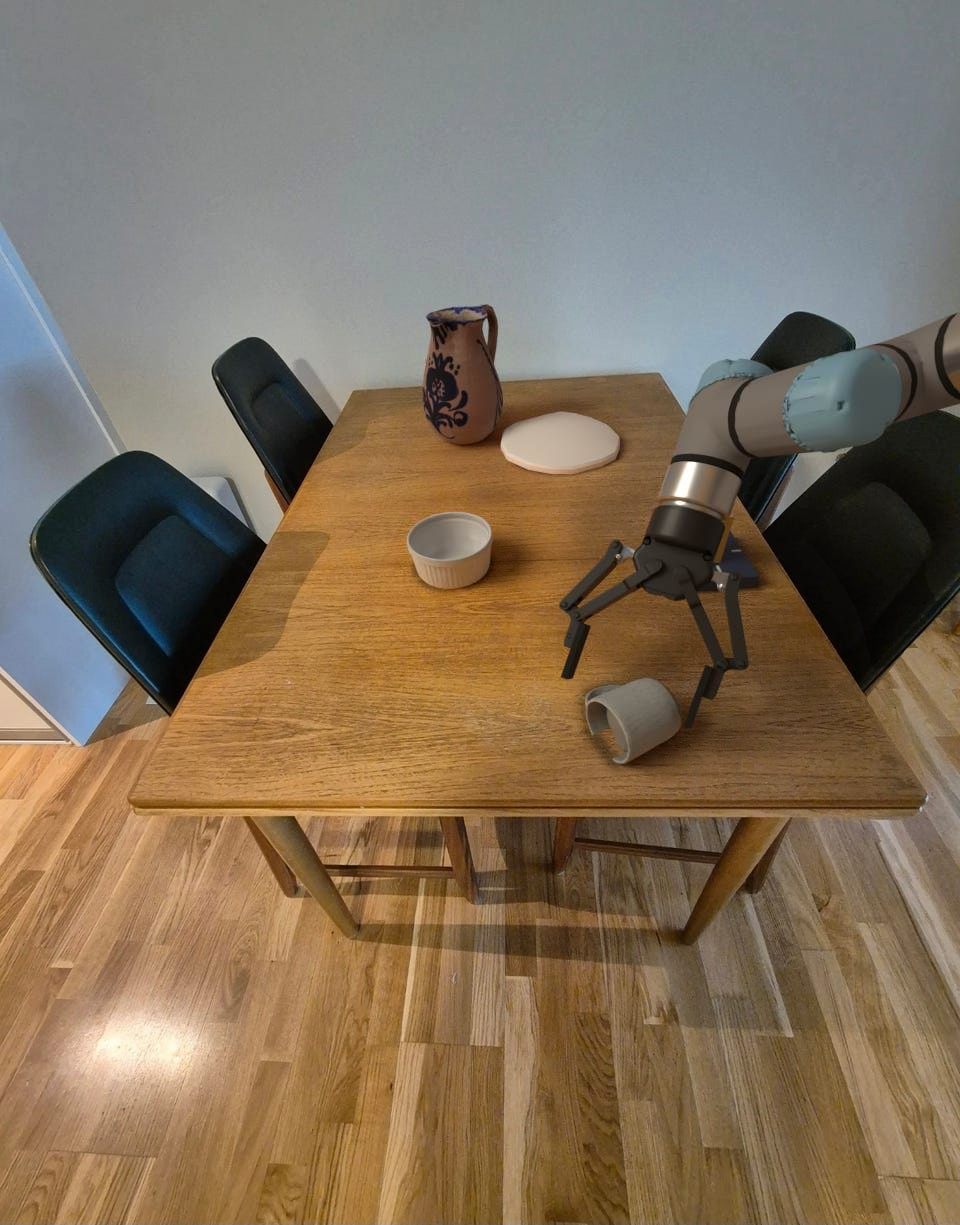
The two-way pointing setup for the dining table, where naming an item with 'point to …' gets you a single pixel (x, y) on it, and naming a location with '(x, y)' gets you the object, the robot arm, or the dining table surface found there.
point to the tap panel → (734, 565)
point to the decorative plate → (560, 443)
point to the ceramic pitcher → (462, 374)
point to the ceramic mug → (634, 715)
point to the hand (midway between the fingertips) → (624, 701)
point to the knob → (724, 538)
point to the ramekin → (451, 549)
